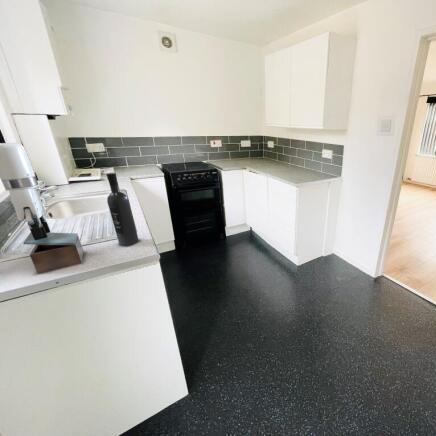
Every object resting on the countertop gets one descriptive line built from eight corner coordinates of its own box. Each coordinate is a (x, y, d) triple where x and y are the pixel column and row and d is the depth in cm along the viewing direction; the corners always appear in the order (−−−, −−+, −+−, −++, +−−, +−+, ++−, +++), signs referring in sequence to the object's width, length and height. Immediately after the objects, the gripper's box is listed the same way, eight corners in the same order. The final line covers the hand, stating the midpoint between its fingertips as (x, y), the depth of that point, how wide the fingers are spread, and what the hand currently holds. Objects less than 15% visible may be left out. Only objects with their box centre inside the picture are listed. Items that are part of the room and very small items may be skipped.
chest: (38, 275, 82) (29, 254, 79) (44, 262, 90) (36, 243, 87) (82, 264, 88) (75, 245, 86) (84, 253, 96) (78, 235, 94)
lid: (23, 244, 78) (24, 229, 77) (30, 233, 86) (31, 220, 85) (75, 245, 85) (76, 231, 85) (77, 235, 94) (78, 222, 93)
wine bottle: (128, 248, 100) (109, 175, 90) (118, 246, 102) (98, 174, 92) (140, 242, 105) (123, 172, 95) (130, 240, 107) (112, 172, 97)
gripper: (11, 181, 82) (33, 231, 88) (-6, 190, 69) (21, 247, 75) (42, 178, 86) (60, 226, 92) (31, 185, 73) (53, 240, 79)
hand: (42, 235), depth 84 cm, fingers closed on lid, 5 cm apart
